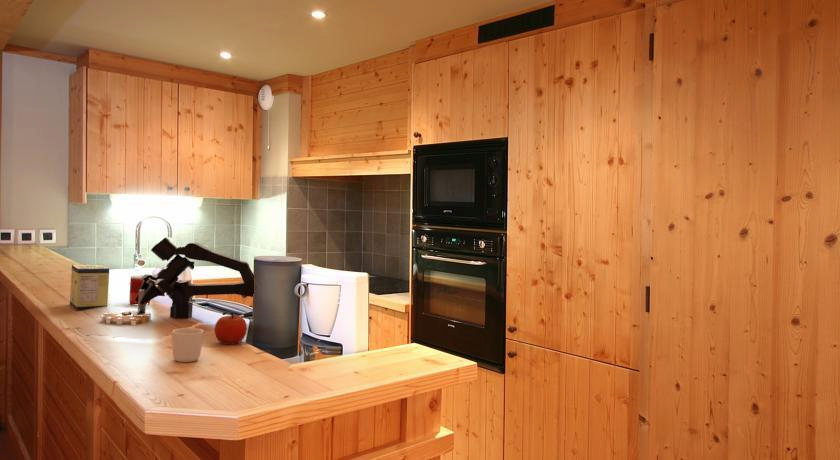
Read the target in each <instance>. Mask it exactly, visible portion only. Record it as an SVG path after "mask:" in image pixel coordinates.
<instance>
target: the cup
mask: <svg viewBox="0 0 840 460" xmlns="http://www.w3.org/2000/svg"><path fill="white" fill-rule="evenodd" d="M204 332H205V331H204V329H202V328H196V327H180V328H176V329H173V330H172V331H171V342H172V344H171V345H172V357H173V359H174V361H176V362H179V363H191V362H195V361H197V360H199V359H200V356H201V351H202V346H203V339H204V334H205V333H204Z"/></svg>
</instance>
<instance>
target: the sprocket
mask: <svg viewBox="0 0 840 460" xmlns="http://www.w3.org/2000/svg"><path fill="white" fill-rule="evenodd" d="M146 291H147V290H139V297H138V305H137V311H136V310H129V311H128V310H126V311H124V310H118V311H109V312H107V313H101V315H100V316H101V317H100V322H101V323H105V324H107V325H112V324H114V325H117V326H118V325H119V326H122V325H130V326H132V325H131V321H136V324H146V323H147V322H151V320H152V319H151V317H152V314H151V313H150V312H146V307H147V305H146V303H145V304H143V305H142V304H140V301H141V299H142V297H143V296H144V294H145V292H146Z"/></svg>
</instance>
